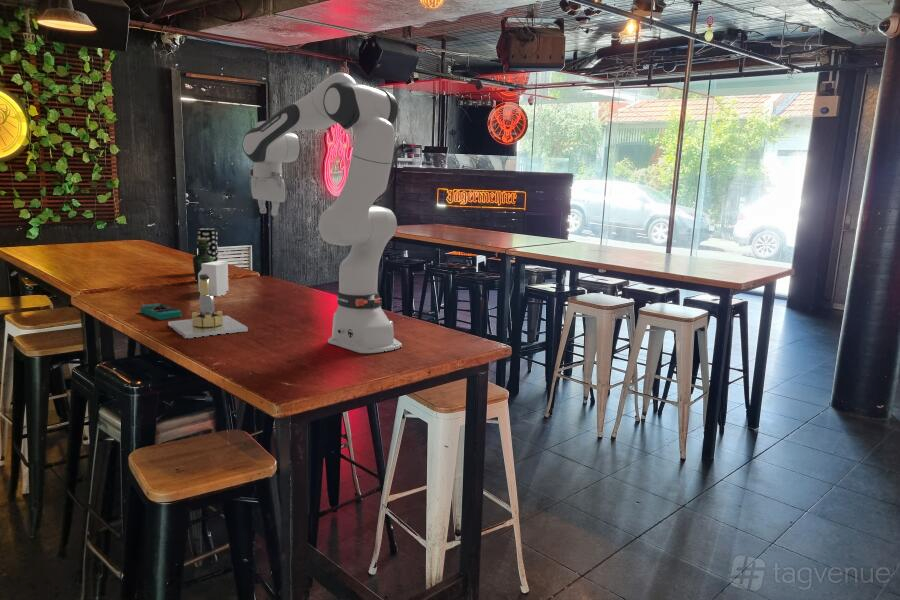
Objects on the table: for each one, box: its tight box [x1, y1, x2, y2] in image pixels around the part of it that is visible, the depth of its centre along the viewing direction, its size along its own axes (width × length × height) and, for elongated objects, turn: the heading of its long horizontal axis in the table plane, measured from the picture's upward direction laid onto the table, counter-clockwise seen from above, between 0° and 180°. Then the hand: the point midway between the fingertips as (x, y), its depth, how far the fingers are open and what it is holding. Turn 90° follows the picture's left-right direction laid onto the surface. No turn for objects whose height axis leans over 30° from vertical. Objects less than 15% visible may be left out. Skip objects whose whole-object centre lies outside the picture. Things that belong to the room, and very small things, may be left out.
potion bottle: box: [192, 238, 213, 281], centre depth 268 cm, size 8×8×18 cm
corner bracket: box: [197, 260, 229, 297], centre depth 246 cm, size 11×11×12 cm
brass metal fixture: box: [191, 274, 224, 327], centre depth 196 cm, size 14×8×14 cm, turn 24°
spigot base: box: [167, 295, 249, 340], centre depth 195 cm, size 20×18×10 cm
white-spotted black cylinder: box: [196, 227, 219, 262], centre depth 287 cm, size 8×8×20 cm
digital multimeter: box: [140, 303, 182, 321], centre depth 209 cm, size 7×15×3 cm, turn 48°
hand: (268, 214), depth 213 cm, fingers open, 8 cm apart
